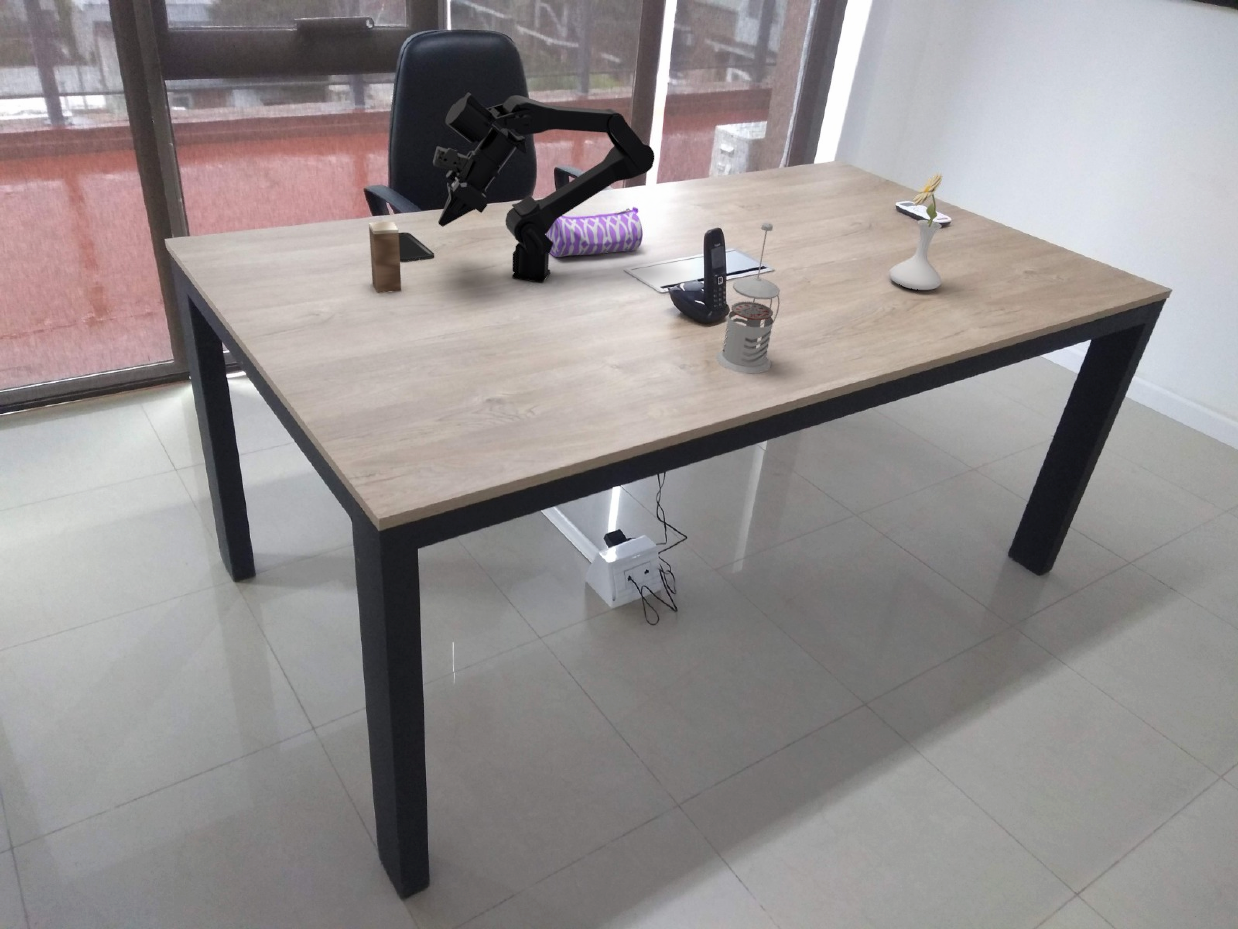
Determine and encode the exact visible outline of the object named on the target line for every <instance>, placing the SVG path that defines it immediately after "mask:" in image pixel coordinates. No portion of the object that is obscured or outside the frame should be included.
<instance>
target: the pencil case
mask: <svg viewBox="0 0 1238 929" xmlns="http://www.w3.org/2000/svg"><path fill="white" fill-rule="evenodd" d="M638 213H639V209H638V207H636V206H632V209H631V208H629V207H627V208H626V209H623V210H620V211H615V212H611V213H601V214H595V215H582V216H578V215H577V216H569V215H567V216H566V215H562V216H561V217H559V218H558V219H557V220H556V221H555V222H554V223H553V225H552V226H551V228H550V229H549V231H548V232H547V233H546V234H545V235H546V236H547V237H548V238H549V239H550V240H551V241H552V242H553V246H552V249H551V251H550V253H549V254H551V255H552V256H553V257H555V258H562V257H568V256H582V255H584V256H585V255H586V256H587V255H599V254H608V253H609V254H610V253H619V252H620V253H621V252H631V251H635V250H637V249H639V247H640V246H641V244H642V242H643V234H644V232H643V225H642V223H641V220H640V216H638Z"/></svg>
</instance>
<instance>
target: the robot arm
mask: <svg viewBox="0 0 1238 929" xmlns="http://www.w3.org/2000/svg"><path fill="white" fill-rule="evenodd" d="M444 123H445V124H446V125H447V126H448V127H450V128H451V129H452V130H454V131H455V132H456V133H458V134H459V135H460V136H461V137H462V138H464V139H465V140H467V141H468V143H471V144H473V143H475V142H476V143H479V144H478V145H477V147H476V148H475V150H469V152H468V153H467V154H466V155H464V154H462V153H459V152H458V150H457V149H452V148H450V147H448V148H445V147H441V146H436V149H435V152H434V156H433V160H432V164H433V166H434V167H435V168H438V169H441V170H442V169H444V170H447V171H448V172H447V173H446V175H445V177H446V178H447V179H449V180H451V181H453V182H452V183H449V182H447V184H446V186H447V191H448V198H447V200H446V202H445V205H444V208H443V209H442V211H441V214H440V217H439V219H438V225H439V226H440V227H445V226H447V225H448V224H451V223H452V222H454V221H456V220H458V219H459V218H461V217H463V216H465V215H467V214H469V213H470V212H472V211H475V210H476V211H478V212H479V213H481V214H482V213H483V212H484V210H485V209H486V208H487V206H488V200H487V199H488V198H487V196H486V193H487V189H488V187H489V186H490V184H491V182H493V180H494V179H495V178H496V179H498V177H499V176H500V174H501V173H500V171H501V169H502V168H503V167H504V165H505V164H506V162H507V161H508V160H509V159H510V157H511V156H512V154H514V152H515V150H516V149H517V150H518V151H520V152H521V153H522V155H523V154H524V155H526V154H527V152H528V151H527V150H528V149H527V146H526V142H527V139H526V138H525V137H524V136H528V135H535V134H542V133H544V132H547V131H552V130H559V131H576V132H577V131H578V132H592V133H604V134H606V135H607V137H608V139H609V140H610V142H611V143H612V144H613V147H612V148H610V150H609V151H608V153H607V155H606V156H605V157H604V159H603V160H602V161H601V162H599V163H597V164H596V165H594V166H593V167H592V168H590V169H588V170H587V171H585V172H584V173H582V174H580V175H578V176H577V177H575V178H574V179H572V180H571V181H569V182H567V183H566V184H564V185H563V186H561V187H559V188H558V189H556V190H555V191H553V192H552V193H550V194H549V195H547V196H545V197H543V198H540V199H536V200H535V198H533V196H532V195H531V194H529V195H526V196H525V197H524V198H523V199H521V201H518V202H517V203H513V204H511V206H512V208H511V209H509V210H508V211H507V213H506V217H505V226H506V228H507V230H508V231H509V232H510V234H512V236H513V237H514V239H515V240H516V241H517V242H518V243H517V244H516V245H515V248H514V251H513V252H512V265H511V266H512V268H511V271H512V272H513V274H512V276H511V278H513V279H516V280H517V279H518V280H524V281H530V282H536V283H537V282H538V283H543V282H544V281H545V280H546V279H547V277H549V275H550V274H551V269H549V261H550V260H549V259H550V254H551V253H550V251H551V249H552V246H553V242H552V241H551V240H550V239H549V238H548V237H547V236H546V233H547V232H548V231H549V229H550V228H551V226H552V225H553V223H554V222H555V221H556V220H557V219H558V218H559V217H561V216H565V214H567V213H568V212H570V211H572V210H574V209H575V208H577V207H578V206H579V205H582V204H583V203H585V202H587V201H588V200H589V199H590V198H592V197H594V196H595V195H597V194H599V193H600V192H602V191H603V190H605V189H606V188H608V187H610V186H611V185H613V184H614V183H616V182H619V181H625V180H629V179H634V178H637V177H640V176H641V175H643V174H646V173H648V172H649V171H650V170H651V169H652V168H653V166H654V165H653V164H654V162H655V152H654V149H652V147H651V146H649V144H647V143H645V142H644V141H642V140H641V139H640V138H639V136H638V135H637V134H636V133H635V131H634V130H633V129H632V127H630V125H629V124H628V123H627V121H626V119H625V118H624V115H622V114H621V113H620V112H618V111H616V110H614V109H613V108H607V109H600V108H591V107H590V108H588V107H587V108H586V107H578V106H577V107H576V106H574V107H573V106H563V105H562V106H561V105H551V104H548V103H544V102H542V101H540V100H536V99H532V98H530V97H526V96H522V95H518V94H517V95H511V96H509V97H508V98H507V99H506V100H505V101H504V103H501V104H497V105H494V106H490V107H485V106H484V105H483V104H481V103H480V102H479V101H478V99H477V98H476V96H475V97H474V95H473V94H471V93H470V92H467V93H466V94H465V95H464V97H461V98H459V100H457V101H456V102H455V103H453V105H452V106H451V107H450V109H449V110H448V112H447V115H446V117H445V122H444ZM494 123H496V124H497V125H498V126H500V127H501V128H500V129H499V128H497V126H495V125H494ZM510 130H513V131H514V132H516V133H518V134H519V135H520V136H519V135H518V136H516V135H515V133H513V132H512V131H510Z"/></svg>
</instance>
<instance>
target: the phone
mask: <svg viewBox="0 0 1238 929" xmlns="http://www.w3.org/2000/svg"><path fill="white" fill-rule="evenodd" d="M399 252H400V263H411V262H417V261H418V260H420V261H426V260H433V259H434V258H435V252H433V251H432V250H430V249H429V248H428V247H427V245H425V244H424V243H423V242H421V241H420V240H419V239H417V238H416V237H415V236H414V235H413V234H412V233H410V232H405V231H403V232H399Z"/></svg>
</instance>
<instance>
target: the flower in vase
mask: <svg viewBox="0 0 1238 929" xmlns="http://www.w3.org/2000/svg"><path fill="white" fill-rule="evenodd" d="M942 174H943V173H940V174H939V172H936V173H935V174H934V175H933V177H932V178H931V177H928V179H926V182H925V183H924V184H923V187H920V188H919V189H918V191H917V193H918V194H916V196H915V197H914V198H913V200H912V201H913V202H914V203H913V206H915V207H917V206H921V205H922V204H924V203H925V202H926V201H928V200H929V198H930V197H932V201H933V202H932V203H930V205H928V207H926V214H927V215H928V217H929V220H927V219H920V220H918V221H917V225H918V228H919V241H918V245H917V249H916V251H915V253H914V254H913V255H912V256H911V257H910V258H908V259H905V260H904V261H902V262H901V261H900V263H897V264H895V265H894V266H892V267H891V268H890V270H889V271H888V276H889V279H890V280H891V281H893V282H894V283H896V284H897V285H899V284H900V285H899V286H901V285H902V287H903V288H904V287H905V288H908V289H911V288H912V290H917V289H918V291H930V290H934V289H937V288H939V287H940V286H941V284H942V278H941V276H940V274H939V272H938V271H937V270H936V269H935V267H934V266H933V265H932V264H931V263H930V261H929V259H928V251H929V248H930V244H931V242H932V239H933V237H934V236H935V234H936V233H937V231H938V230H940V229H941V228H942V224H940V223H939V222H936V221H935V220H934V219H935V218H937V217H938V213H937V209H936V207H937V206H936V205H937V204H936V199H935V198H936V197H935V192H936V191H937V189H938V188H939V187H940V186H941V182H942V179H943V175H942Z"/></svg>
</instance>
